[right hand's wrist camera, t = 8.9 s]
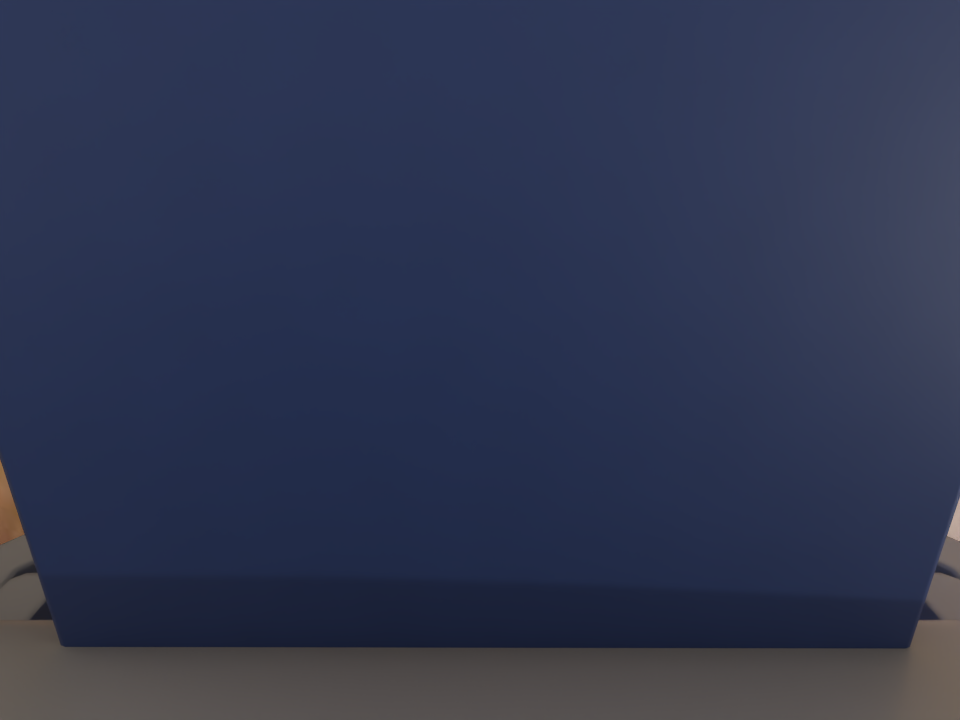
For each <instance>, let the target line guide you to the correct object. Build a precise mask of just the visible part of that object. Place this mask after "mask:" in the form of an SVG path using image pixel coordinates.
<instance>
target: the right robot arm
mask: <svg viewBox="0 0 960 720" xmlns="http://www.w3.org/2000/svg"><path fill="white" fill-rule="evenodd" d="M0 720H960V542H959V541H957V540H955V539H952V538H950V537H948V536H947V537H946V540H945V543H944V546H943V549H942V552H941V555H940V558H939V561H938V564H937V567H936V570H935V573H934V576H933V579H932V582H931V585H930V588H929V591H928V594H927V597H926V600H925V603H924V606H923V609H922V612H921V615H920V618H919V621H918V624H917V627H916V630H915V633H914V636H913V639H912V642H911V645H910V647H908V648H905V649H889V648H365V647H64V646H62V645H61V644H60V641H59V638H58V635H57V632H56V629H55V626H54V623H53V620H52V617H51V613H50V610H49V607H48V604H47V601H46V598H45V595H44V592H43V589H42V586H41V583H40V580H39V577H38V573H37V570H36V567H35V564H34V561H33V558H32V555H31V552H30V549H29V546H28V543H27V540H26V536H25V535H22V536H20V537H18V538H15V539H13V540H11V541H9V542H6V543H4V544H2V545H0Z"/></svg>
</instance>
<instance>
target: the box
mask: <svg viewBox="0 0 960 720" xmlns="http://www.w3.org/2000/svg"><path fill="white" fill-rule="evenodd" d="M0 460H1V463H2V466H3V469H4V472H5V475H6V478H7V481H8V484H9V487H10V490H11V493H12V496H13V500H14V503H15V506H16V509H17V512H18V515H19V518H20V521H21V524H22V527H23V530H24V533H25V536H26V540H27V543H28V546H29V549H30V552H31V555H32V558H33V561H34V564H35V567H36V570H37V573H38V577H39V580H40V583H41V586H42V589H43V592H44V595H45V598H46V601H47V604H48V607H49V610H50V613H51V617H52V620H53V623H54V626H55V629H56V632H57V635H58V638H59V641H60V644H61V645H62V646H64V647H365V648H889V649H905V648H908V647H910V645H911V642H912V639H913V636H914V633H915V630H916V627H917V624H918V621H919V618H920V615H921V612H922V609H923V606H924V603H925V600H926V597H927V594H928V591H929V588H930V585H931V582H932V579H933V576H934V573H935V570H936V567H937V564H938V561H939V558H940V555H941V552H942V549H943V546H944V543H945V540H946V537H947V534H948V531H949V527H950V524H951V521H952V518H953V515H954V512H955V509H956V506H957V503H958V500H959V497H960V0H0Z"/></svg>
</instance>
